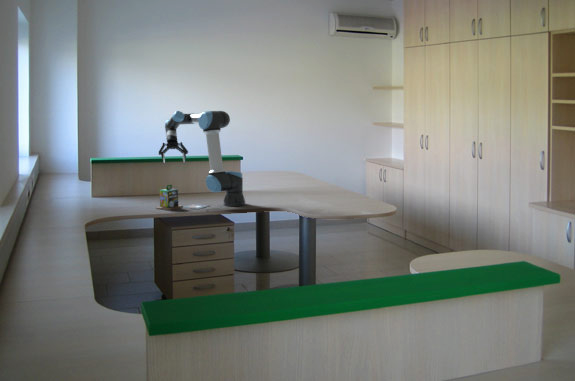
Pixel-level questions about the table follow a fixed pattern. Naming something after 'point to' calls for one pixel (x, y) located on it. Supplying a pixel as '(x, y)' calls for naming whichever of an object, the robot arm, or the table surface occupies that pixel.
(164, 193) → the chalk box
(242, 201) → the robot arm
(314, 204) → the table surface
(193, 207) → the plate
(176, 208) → the walnut board
